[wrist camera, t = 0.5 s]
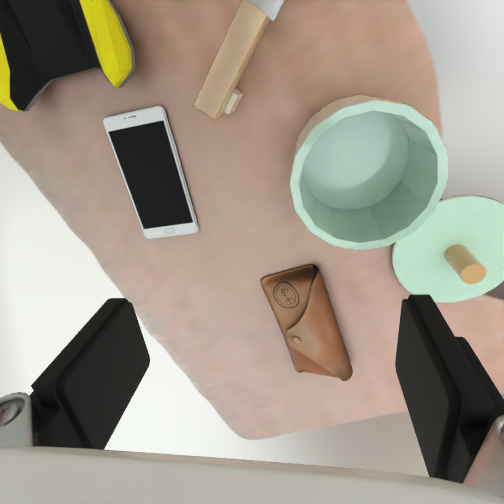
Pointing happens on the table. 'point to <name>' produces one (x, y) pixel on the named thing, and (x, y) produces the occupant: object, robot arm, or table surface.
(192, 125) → the table surface
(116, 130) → the smartphone
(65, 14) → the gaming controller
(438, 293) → the lid
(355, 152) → the pot
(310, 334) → the sunglasses case
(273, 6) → the knife
